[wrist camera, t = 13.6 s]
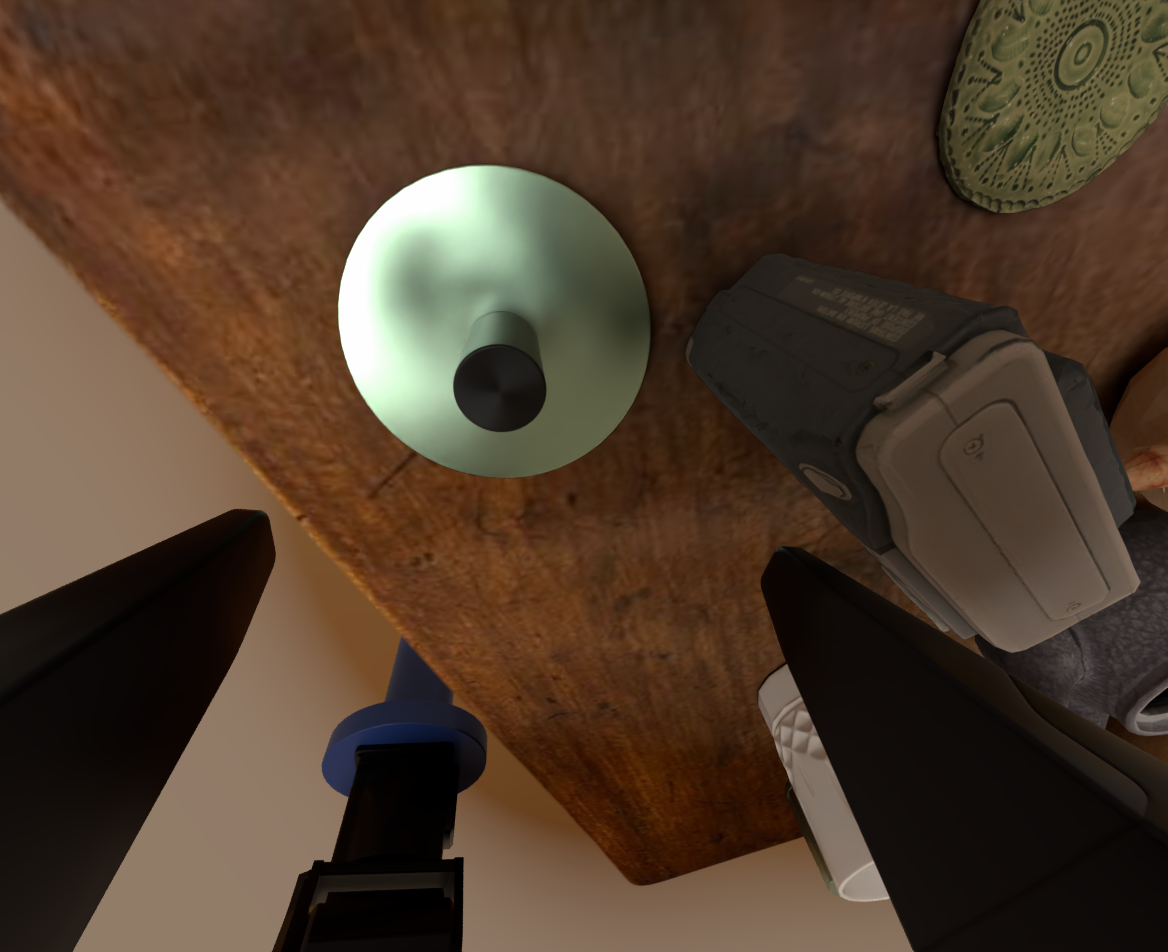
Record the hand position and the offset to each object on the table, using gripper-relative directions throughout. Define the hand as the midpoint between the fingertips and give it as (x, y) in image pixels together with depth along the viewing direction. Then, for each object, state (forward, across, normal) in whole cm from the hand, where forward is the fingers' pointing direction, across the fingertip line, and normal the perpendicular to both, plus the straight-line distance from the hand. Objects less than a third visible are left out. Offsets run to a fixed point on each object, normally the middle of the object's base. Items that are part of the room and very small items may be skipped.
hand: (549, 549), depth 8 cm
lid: (+10, +1, -1) cm, 10 cm away
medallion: (+10, -15, -12) cm, 22 cm away
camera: (+10, -11, -1) cm, 15 cm away
